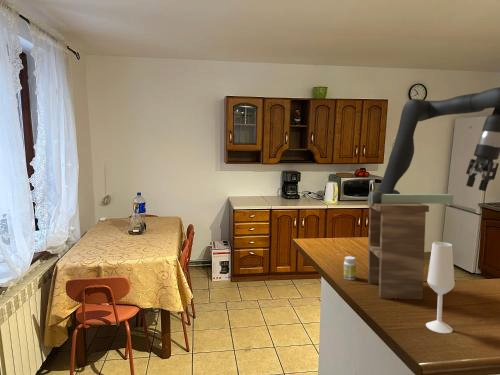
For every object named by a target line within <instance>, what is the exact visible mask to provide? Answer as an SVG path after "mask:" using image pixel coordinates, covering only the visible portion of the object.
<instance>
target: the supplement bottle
mask: <svg viewBox="0 0 500 375" xmlns="http://www.w3.org/2000/svg"><path fill="white" fill-rule="evenodd" d="M356 278H357V263H356V257H354V256H351V255H349V256H348V255H347V256H344V262H343V279H345V280H347V281H348V280H349V281H354V280H356Z"/></svg>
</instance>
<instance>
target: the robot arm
mask: <svg viewBox="0 0 500 375" xmlns="http://www.w3.org/2000/svg"><path fill="white" fill-rule="evenodd" d="M492 108H493V111H492V113H491V115H488V116H487V117H486V119H485V120H484V122H483V127H482V130H481V132H480V133H479V134H480V135H479V137H478V139H477V142H476V143H477V144H476V147H475V149H474V151H473V156H475V157H476V159H475V158H471V159H469V160H470V161H469V163H468V166H467V169H466V173H465V174H466V175H467V176H468V177H467V180H466V184H465V185H466V186H467V187H469V188H473V187H474V184H475V181H476V179H477V178H476V177H478V175H480V176H481V181H480V184H479V186H478V190H479V191H483V192H485V191H486V192H487V188H488V184H489V182H490V181H491V180H492V181H494V180H495V178H496V175H497V173H498V169H499V162H494V161H497V160H499V157H500V86H499V87H494V88H489V89H487V90H484V91H480V92H474V93H469V94H468V93H467V94H462V95H458V96H454V97H451V98H447V99H444V100H443V99H442V100H425V99H420V98H419V99H418V98H411V99H409V100H407V101H406V102H405V104H404V105H403V107H402V111H401V113H400V119H399V124H398V128H397V132H396V137H395V138H394V139H395V140H394V143H393V147H392V149H391V152H390V155H389V158H388V162H387V165H386V168H385V171H384V174H383V177H382V180H381V182H380V184H379V187H378V188H377V191H381V192H383V194H401V193H400V191H399V190H396V189H395V188H396V186H397V183H398V182H400V179H401V178H402V177H403V176H404V175H405V173H406V172H407V171H408V170H409V168H410V166H411V164H412V160H413V157H414V154H415V138H414V135H415V131H416V128H417V125H418V122H424V121H426V120H430V119H434V118H438V117H441V116H449V115H450V116H451V115H463V114H464V115H465V114H471V113H472V114H473V113H479V112H483V111H485V110H486V109H487V110H488V109H492Z"/></svg>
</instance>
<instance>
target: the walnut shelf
mask: <svg viewBox="0 0 500 375" xmlns="http://www.w3.org/2000/svg"><path fill="white" fill-rule="evenodd" d="M366 206H367V207H368V245H367V247H368V251H367V252H368V253H367V254H368V256H367V283H368V284H370V285H372V284H374V285H378V297H379V298H380V299H391V298H395V299H397V298H399V300H400V299H401V300H402V299H403V300H423V299H424V298H423V297H424V272H425V269H424V268H425V246H426V245H425V243H426V242H425V239H426V215H427V214H426V213H429V212H430V205H427V204H424V203H381V204H374V203H369V199H367V200H366ZM397 300H398V299H397Z"/></svg>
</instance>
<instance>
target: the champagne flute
mask: <svg viewBox="0 0 500 375" xmlns="http://www.w3.org/2000/svg"><path fill="white" fill-rule="evenodd" d="M453 254H454V253H453V244H452V243H449V242H445V241H444V242H443V241H434V242H432V246H431V253H430V258H429V266H428V272H427V279H426V281H427V284H428V286H429V287H430V288H431V289H432V290H433V291H434V292H435V293H436V294H437V308H436V320H432V321H428V322H426V323H425V326H426V328H427V329H429V330H430V331H432V332H435V333H440V334H450V333H452V332H453V327H451V326H450V325H448V324H447V323H446V322H444V321H443V320H442V319H443V316H442V315H443V298H444V297H443V295H446V294H448V293H449V292H450V291H451V290H453V288H454V287H455V286H456V285H455V283H456V282H455V271H454V269H455V267H454V255H453Z"/></svg>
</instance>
